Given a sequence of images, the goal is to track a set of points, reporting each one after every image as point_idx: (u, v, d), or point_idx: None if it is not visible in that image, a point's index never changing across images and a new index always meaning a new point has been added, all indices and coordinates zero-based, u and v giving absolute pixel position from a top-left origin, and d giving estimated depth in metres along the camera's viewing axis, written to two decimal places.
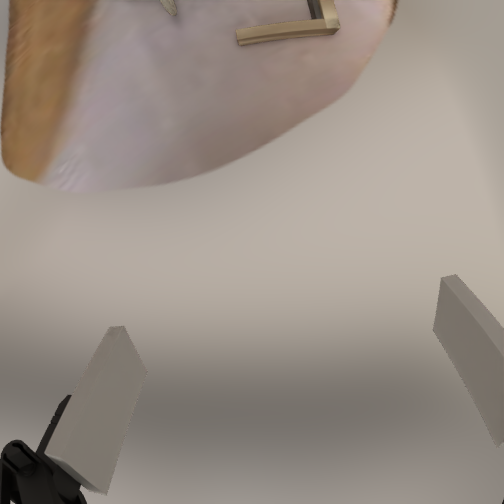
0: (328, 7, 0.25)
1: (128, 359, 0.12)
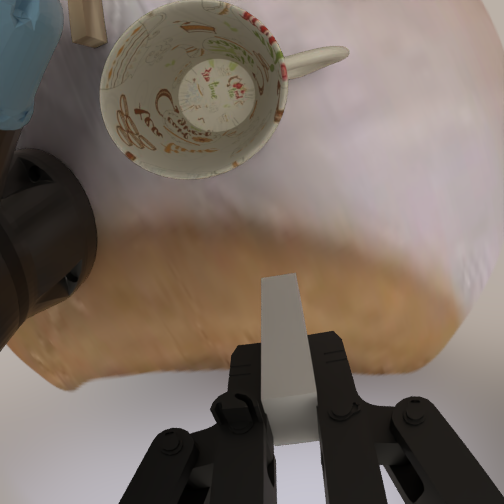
0: None
1: None
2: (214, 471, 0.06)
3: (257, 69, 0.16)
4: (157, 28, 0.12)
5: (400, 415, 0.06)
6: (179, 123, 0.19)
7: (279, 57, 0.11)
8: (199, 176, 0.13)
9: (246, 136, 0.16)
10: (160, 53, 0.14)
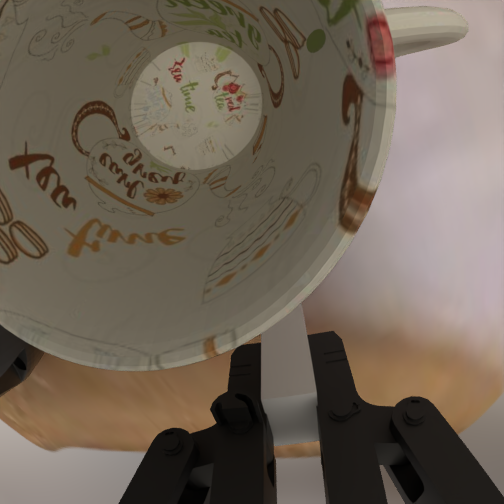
0: None
1: None
2: (214, 471, 0.06)
3: (268, 54, 0.07)
4: None
5: (400, 415, 0.06)
6: (126, 162, 0.11)
7: None
8: (119, 366, 0.05)
9: (245, 213, 0.07)
10: (64, 33, 0.06)
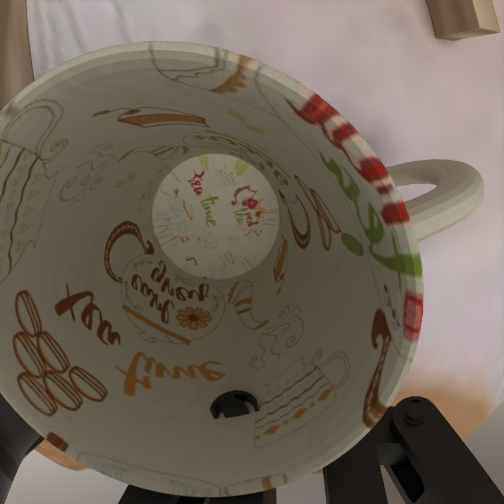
0: None
1: None
2: None
3: (294, 198, 0.09)
4: (55, 135, 0.05)
5: (401, 415, 0.06)
6: (154, 279, 0.12)
7: (410, 272, 0.04)
8: (195, 494, 0.05)
9: (279, 361, 0.08)
10: (94, 174, 0.07)
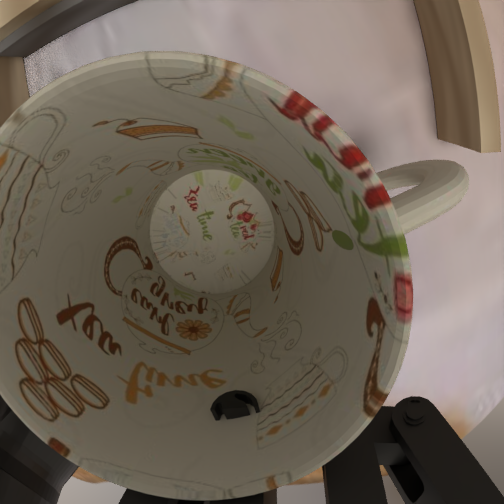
0: None
1: None
2: None
3: (287, 206, 0.10)
4: (58, 144, 0.05)
5: (400, 415, 0.06)
6: (153, 294, 0.12)
7: (396, 253, 0.04)
8: (199, 497, 0.05)
9: (278, 364, 0.08)
10: (93, 187, 0.08)
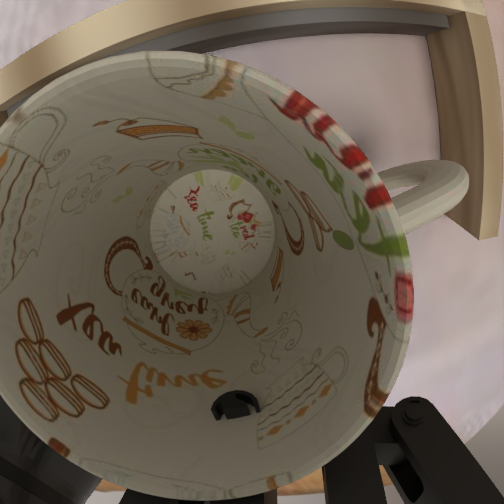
0: None
1: None
2: None
3: (287, 206, 0.10)
4: (58, 144, 0.05)
5: (399, 415, 0.06)
6: (154, 294, 0.12)
7: (397, 253, 0.04)
8: (199, 497, 0.05)
9: (279, 365, 0.08)
10: (93, 187, 0.08)
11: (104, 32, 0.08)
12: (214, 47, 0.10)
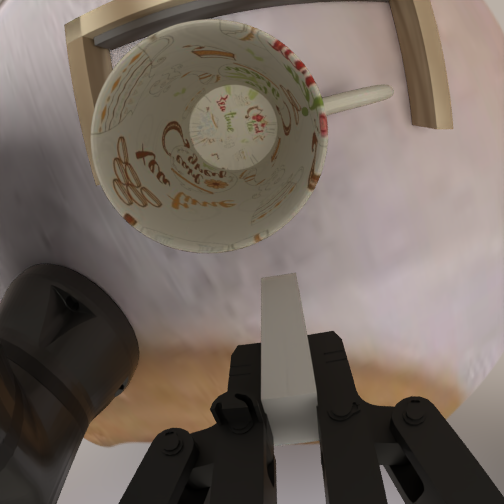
0: None
1: None
2: (214, 471, 0.06)
3: (283, 104, 0.14)
4: (163, 54, 0.10)
5: (400, 415, 0.06)
6: (190, 162, 0.18)
7: (318, 104, 0.09)
8: (213, 250, 0.11)
9: (269, 191, 0.14)
10: (167, 82, 0.13)
11: None
12: (244, 7, 0.15)
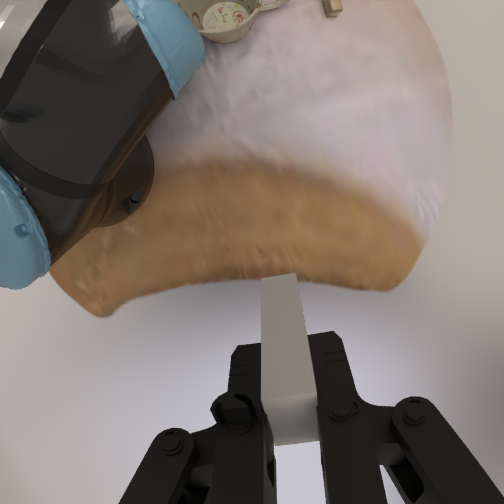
0: None
1: None
2: (213, 472, 0.06)
3: (250, 0, 0.25)
4: None
5: (400, 415, 0.06)
6: None
7: None
8: (218, 31, 0.22)
9: None
10: None
11: None
12: None
